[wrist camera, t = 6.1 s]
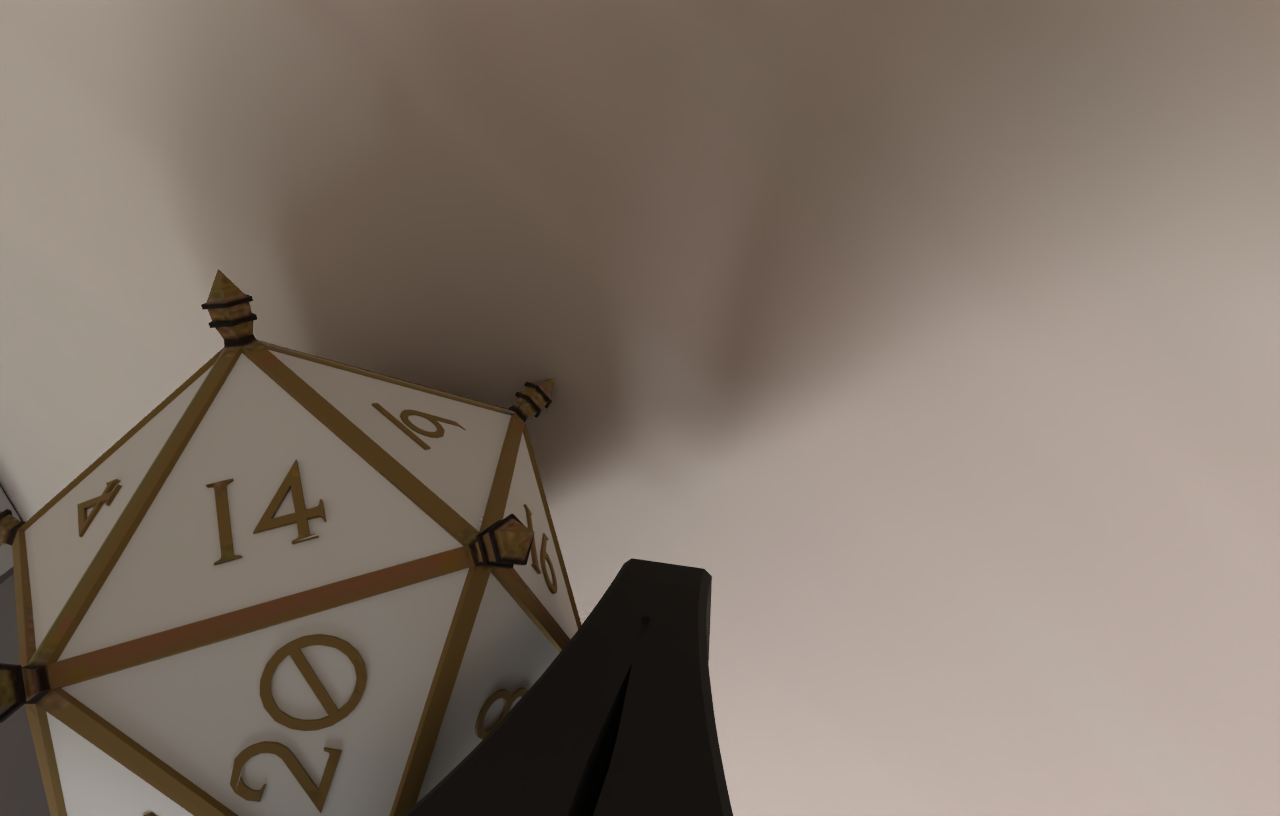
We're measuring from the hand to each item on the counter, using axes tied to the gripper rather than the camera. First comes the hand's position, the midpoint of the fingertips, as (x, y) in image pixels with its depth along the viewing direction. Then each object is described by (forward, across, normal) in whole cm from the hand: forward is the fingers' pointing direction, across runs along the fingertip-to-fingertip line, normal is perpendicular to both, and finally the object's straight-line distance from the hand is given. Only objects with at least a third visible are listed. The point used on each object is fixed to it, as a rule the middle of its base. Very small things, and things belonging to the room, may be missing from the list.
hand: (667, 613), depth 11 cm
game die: (+3, +5, 0) cm, 6 cm away
